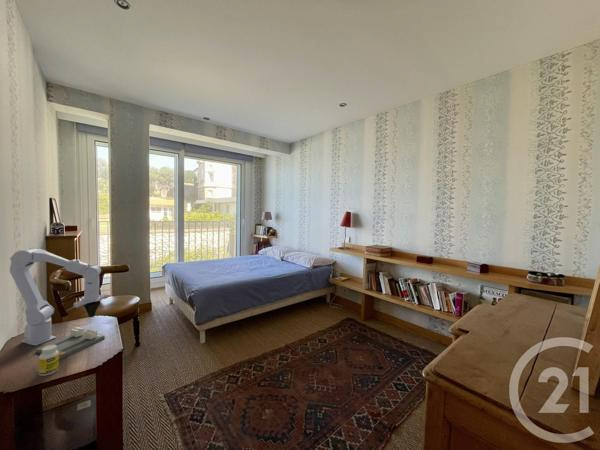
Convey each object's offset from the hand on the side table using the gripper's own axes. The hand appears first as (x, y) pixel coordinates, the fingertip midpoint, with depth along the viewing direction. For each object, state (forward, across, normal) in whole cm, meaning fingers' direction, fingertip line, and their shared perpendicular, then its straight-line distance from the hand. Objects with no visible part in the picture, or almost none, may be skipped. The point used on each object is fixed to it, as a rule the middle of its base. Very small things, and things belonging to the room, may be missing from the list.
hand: (91, 316), depth 123 cm
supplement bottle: (+10, -26, -15) cm, 31 cm away
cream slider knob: (+7, -5, +2) cm, 9 cm away
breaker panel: (+9, -10, -2) cm, 14 cm away
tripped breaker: (+7, -5, -6) cm, 11 cm away
